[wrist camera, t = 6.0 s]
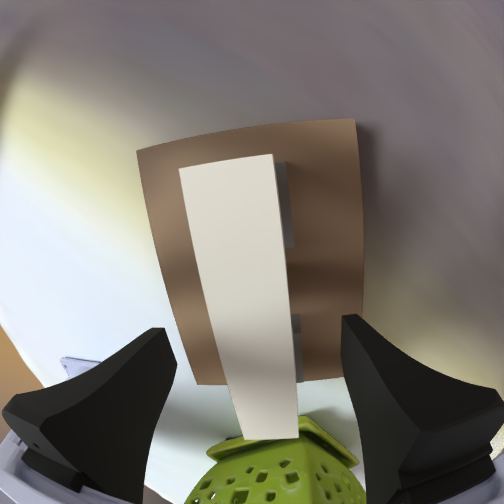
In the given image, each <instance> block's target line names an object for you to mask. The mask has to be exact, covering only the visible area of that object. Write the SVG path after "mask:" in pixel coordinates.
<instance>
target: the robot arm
mask: <svg viewBox="0 0 504 504" xmlns="http://www.w3.org/2000/svg"><path fill="white" fill-rule="evenodd" d="M340 357H341V363H342V369H343V374H344V378H345V382H346V385H347V388H348V391H349V395H350V398H351V401H352V404H353V408H354V411H355V414H356V418H357V422H358V426H359V431H360V438H361V445H362V452H363V461H364V470H365V483H366V504H504V452H503V453H502V454H500V455H499V456H497V457H496V458H495V459H493V460H491V457H490V455H489V454H491V453H492V451H493V449H492V446H491V444H490V441H491V440H492V439H493V437H494V436H495V435H496V433H497V432H498V431H499V429H500V428H501V427H502V425H503V423H504V402H503V400H502V398H501V397H500V395H499V394H498V392H497V391H496V390H495V389H492V388H488V387H483V386H478V385H474V384H470V383H467V382H464V381H460V380H457V379H454V378H452V377H449V376H447V375H444V374H442V373H440V372H438V371H435V370H433V369H431V368H429V367H427V366H425V365H423V364H422V363H420V362H418V361H416V360H415V359H413V358H411V357H410V356H408V355H407V354H405V353H404V352H402V351H401V350H400V349H398V348H397V347H395V346H394V345H393V344H391V343H390V342H389V341H388V340H386V339H385V338H384V337H383V336H381V335H380V334H379V333H378V332H377V331H376V330H375V329H373V328H372V327H371V326H370V325H369V324H368V323H367V322H366V321H365V320H363V319H362V318H361V317H360V316H359V315H358V314H349V315H342V322H341V349H340ZM60 362H61V364H62V366H63V367H64V369H65V371H66V372H67V374H68V376H69V377H68V378H67V379H66V381H64V382H62V383H59V384H57V385H54V386H51V387H47V388H44V389H41V390H37V391H32V392H27V393H22V394H16V395H15V396H14V397H13V398H12V399H11V400H10V401H9V402H8V404H7V405H6V406H5V407H4V409H3V410H2V415H3V418H4V419H5V421H6V423H7V424H8V425H9V426H10V428H11V431H10V432H9V434H8V435H7V436H6V438H5V439H4V440H3V442H2V443H1V445H0V504H142V502H143V488H144V479H145V472H146V465H147V460H148V455H149V450H150V446H151V442H152V438H153V434H154V430H155V427H156V424H157V422H158V419H159V417H160V414H161V412H162V409H163V407H164V404H165V402H166V400H167V397H168V395H169V392H170V390H171V387H172V384H173V381H174V377H175V373H176V369H177V361H176V359H175V356H174V353H173V351H172V348H171V345H170V342H169V339H168V337H167V334H166V331H165V328H151V329H149V330H147V331H146V332H144V333H143V334H141V335H140V336H139V337H137V338H136V339H134V340H133V341H132V342H130V343H129V344H127V345H126V346H125V347H123V348H122V349H121V350H119V351H118V352H116V353H115V354H113V355H112V356H110V357H109V358H107V359H106V360H104V361H103V362H101V363H97V362H89V361H82V360H76V359H70V358H64V357H62V358H61V359H60Z"/></svg>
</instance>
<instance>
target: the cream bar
mask: <svg viewBox="0 0 504 504" xmlns="http://www.w3.org/2000/svg"><path fill="white" fill-rule="evenodd" d="M179 173H180V179H181V185H182V191H183V196H184V202H185V207H186V212H187V218H188V223H189V228H190V233H191V238H192V243H193V247H194V252H195V257H196V261H197V266H198V271H199V275H200V279H201V284H202V288H203V292H204V297H205V301H206V305H207V309H208V313H209V317H210V321H211V325H212V329H213V333H214V337H215V341H216V345H217V348H218V352H219V356H220V360H221V363H222V367H223V370H224V374H225V377H226V381H227V384H228V388H229V391H230V395H231V398H232V401H233V405H234V408H235V411H236V415H237V418H238V421H239V424H240V427H241V430H242V434H243V437H244V440H266V439H289V438H299V431H298V403H297V383H296V368H295V354H294V341H293V329H292V324H291V312H290V301H289V291H288V280H287V266H286V254H285V245H284V236H283V227H282V218H281V210H280V202H279V193H278V185H277V178H276V170H275V163H274V155H273V154H267V155H259V156H251V157H244V158H237V159H231V160H224V161H218V162H212V163H206V164H201V165H195V166H190V167H185V168H180V169H179Z"/></svg>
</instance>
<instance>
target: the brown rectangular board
mask: <svg viewBox="0 0 504 504" xmlns="http://www.w3.org/2000/svg"><path fill="white" fill-rule="evenodd" d="M136 152H137V159H138V165H139V171H140V177H141V182H142V188H143V193H144V198H145V203H146V208H147V213H148V218H149V222H150V227H151V231H152V236H153V240H154V244H155V248H156V253H157V257H158V261H159V265H160V268H161V272H162V276H163V280H164V283H165V287H166V291H167V294H168V298H169V301H170V305H171V308H172V311H173V315H174V318H175V321H176V324H177V328H178V331H179V334H180V337H181V340H182V343H183V346H184V349H185V352H186V355H187V358H188V361H189V363H190V366H191V369H192V372H193V375H194V377H195V380H196V383H197V385H228V384H227V381H226V377H225V374H224V370H223V367H222V363H221V360H220V356H219V352H218V348H217V345H216V341H215V337H214V333H213V329H212V325H211V321H210V317H209V313H208V309H207V305H206V301H205V297H204V292H203V288H202V284H201V279H200V275H199V271H198V266H197V261H196V257H195V252H194V247H193V243H192V238H191V233H190V228H189V223H188V218H187V212H186V207H185V202H184V196H183V191H182V185H181V179H180V173H179V169H180V168H185V167H190V166H195V165H201V164H206V163H212V162H218V161H224V160H231V159H237V158H244V157H251V156H259V155H267V154H273V155H274V163H275V170H276V178H277V185H278V193H279V202H280V210H281V218H282V227H283V236H284V245H285V254H286V266H287V280H288V291H289V301H290V312H291V324H292V329H293V341H294V354H295V368H296V383H301V382H304V381H313V380H322V379H330V378H338V377H344V374H343V369H342V363H341V357H340V349H341V322H342V315H349V314H358V315H359V316H360V317H361V318H362V306H363V281H364V226H363V201H362V184H361V171H360V160H359V150H358V141H357V133H356V125H355V118H354V119H327V120H311V121H299V122H288V123H278V124H269V125H261V126H254V127H247V128H240V129H234V130H227V131H222V132H216V133H210V134H205V135H200V136H195V137H190V138H186V139H181V140H176V141H172V142H168V143H164V144H160V145H156V146H152V147H148V148H144V149H140V150H137V151H136Z"/></svg>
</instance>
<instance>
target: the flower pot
mask: <svg viewBox="0 0 504 504" xmlns="http://www.w3.org/2000/svg"><path fill="white" fill-rule="evenodd" d="M298 431H299V438H289V439H266V440H244V437H243V436H240V437H237V438H234V439H233V438H227V439H226V441H224V442H221V443H219V444H217V445H215V446H213V447H211V448H210V449H209V450H207V452H206V454H207V455H208V456H209V457H210V458H212V459H213V460H215V461H216V462H218V463H217V464H216V465H214V466H213V467H212V468H211V469H210V470H209V471H208V472H207V473H206V474H205V475H204V476H203V477H202V478H201V480H200V481H199V482H198V483H197V485H196V486H195V487H194V489H193V490H192V492H191V493H190V495H189V496H188V498H187V500H186V501H185V503H184V504H366V492H365V490H364V489H363V487H362V486H361V484H360V483H359V481H358V480H357V478H356V477H355V476H354V475H353V474H352V472H351V471H350V470H349V468H352V467H354V466H356V465H358V464H359V461H358V459H357V458H356V457H355V456H354V455H353V454H352V453H350V452H349V451H348V450H347V449H346V448H344V447H343V446H342V445H341V444H340V443H338V442H337V441H336V440H335V439H334V438H332V437H331V436H330V435H329V434H328V433H326V432H325V431H324V430H323V429H322V428H321V427H319V426H318V425H317V424H316V423H315V422H314V421H312V420H311V419H310V418H308V417H307V416H298ZM214 493H216V494H215V496H214V498H213V499H212V500H211V497H212V496H213V495H214ZM197 499H198V501H197V502H195V500H197Z"/></svg>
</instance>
